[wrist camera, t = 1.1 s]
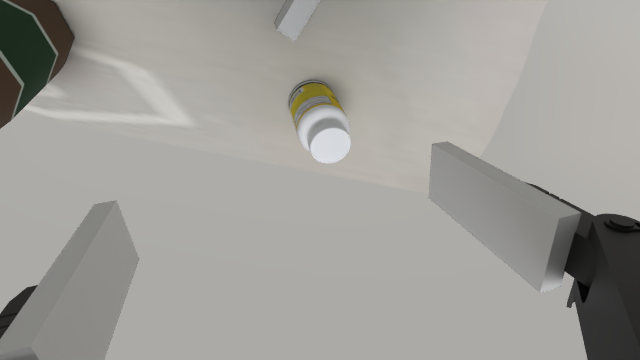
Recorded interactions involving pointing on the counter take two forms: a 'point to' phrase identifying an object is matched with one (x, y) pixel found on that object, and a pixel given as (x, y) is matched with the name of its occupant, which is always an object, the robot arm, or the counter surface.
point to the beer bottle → (29, 51)
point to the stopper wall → (295, 17)
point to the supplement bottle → (320, 121)
